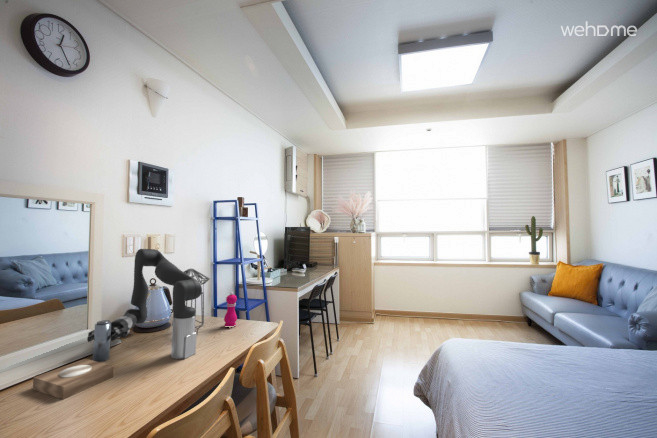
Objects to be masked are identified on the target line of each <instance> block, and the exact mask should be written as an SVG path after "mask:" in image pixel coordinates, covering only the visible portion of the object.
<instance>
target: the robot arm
mask: <svg viewBox="0 0 657 438" xmlns="http://www.w3.org/2000/svg"><path fill="white" fill-rule="evenodd" d="M144 267H155V269H154V274H155V277H156V278H158V280H160V281H161V282H162V283H163V284H166V285H169V286H172V316H173V317H172V321H173V326H171V327H172V329H171V330H172V331H171V346H170V347H171V348H170V357H171V358H172V359H175V360H176V359H177V360H178V359H179V360H180V359H188V358H189V357H191V356H194V355H196V351H197V336H198V335H197V334H198V333H196V332H195V331H196V328H195V327H196V321H195V320H197V308H196V309H195V307H193V306H192V307H191V306H188V305H187V306H186V301H187V302H188V301H191V300H192V301H193V300H194V301H195V299H196V300H197V299H198V298H200V296H201V293H202V292H203V286H202V285H201V284H202V283H200V282H198V280H197V278H195V277H193V278H192V277H190V275H189V276H188V275H187V274H185V273H184V271H183V270H181V269H180V268H178V267H177V266H176V265H175V264H174V263H172V262H170V260H169V259H167V258H166V257H165V256H164V255H163V254H162V253H161V252H160V251H159V250H157V249H153V248H139V249H138V250H137V251H136V253H135V256H134V267H133V287H132V288H133V289H132V293H131V299H130V304H131V306H134V307H136V308H130V309H127V310H126V311H125V313H124V314H123V315H122V316H120V317H118V318H116V319H115V320H113V321H110V322H111V336H110V342H113V341H116V339H120V338H126V337H127V336H129V334H130V331H131V328H133V327H134V326H135V325H136V324H137V325H138V324H139V325H141V324H144V323H145V322H146V321H147V319H148V316H147V313H148V307H146V305H147V300H148V295H149V285H148V283H147V282H146V279H145V277H144V273H143V272H144V271H143V270H144V269H143V268H144ZM146 318H147V319H146ZM145 320H146V321H145ZM94 330H95V329H92V330H91V331H89V332H88V334H87V335H88V336H87V339H86V341H87V342H88V343H91V342H92V341H94Z"/></svg>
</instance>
